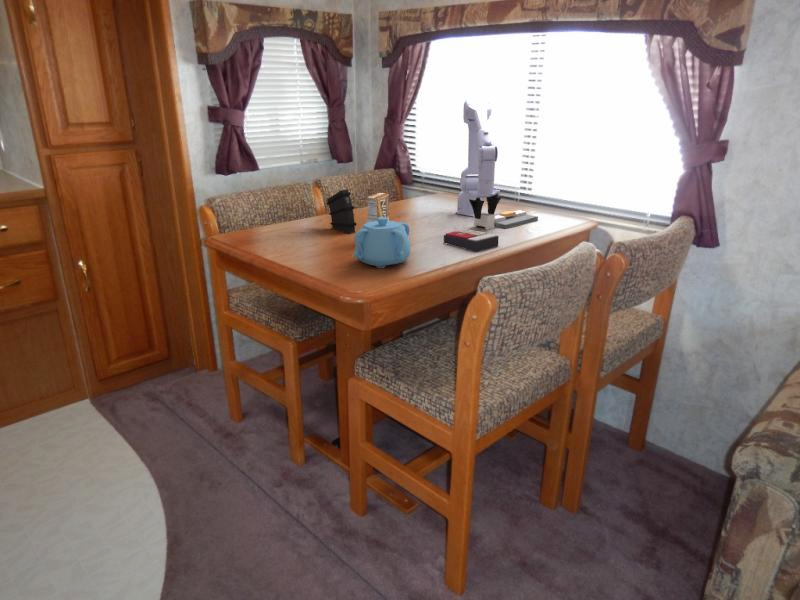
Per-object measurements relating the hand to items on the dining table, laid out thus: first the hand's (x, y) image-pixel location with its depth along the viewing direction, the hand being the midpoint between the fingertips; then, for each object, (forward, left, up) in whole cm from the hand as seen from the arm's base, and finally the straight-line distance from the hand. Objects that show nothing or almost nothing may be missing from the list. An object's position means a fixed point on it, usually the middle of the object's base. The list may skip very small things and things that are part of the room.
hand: (484, 217), depth 209 cm
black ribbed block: (-33, -41, -4) cm, 53 cm away
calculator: (+12, -21, -5) cm, 25 cm away
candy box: (-13, -40, -4) cm, 42 cm away
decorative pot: (+8, -56, -4) cm, 57 cm away
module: (0, 0, -4) cm, 4 cm away
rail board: (0, +14, -4) cm, 15 cm away
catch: (0, +14, -2) cm, 14 cm away
